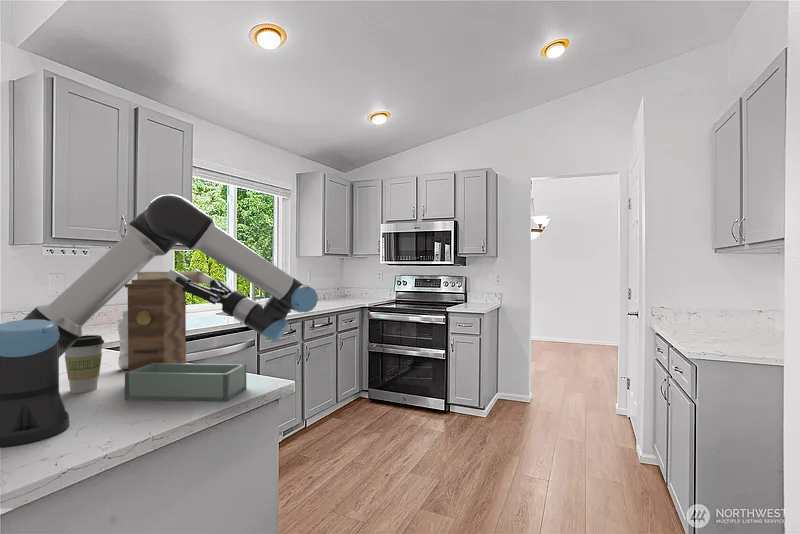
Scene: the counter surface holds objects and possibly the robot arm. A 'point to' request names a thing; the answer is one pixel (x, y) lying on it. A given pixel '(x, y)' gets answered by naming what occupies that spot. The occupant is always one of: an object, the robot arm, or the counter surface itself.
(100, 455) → the counter surface
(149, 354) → the brown wooden box
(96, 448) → the counter surface
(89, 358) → the coffee cup
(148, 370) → the tray
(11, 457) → the counter surface
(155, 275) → the bar
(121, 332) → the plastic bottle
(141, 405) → the counter surface
